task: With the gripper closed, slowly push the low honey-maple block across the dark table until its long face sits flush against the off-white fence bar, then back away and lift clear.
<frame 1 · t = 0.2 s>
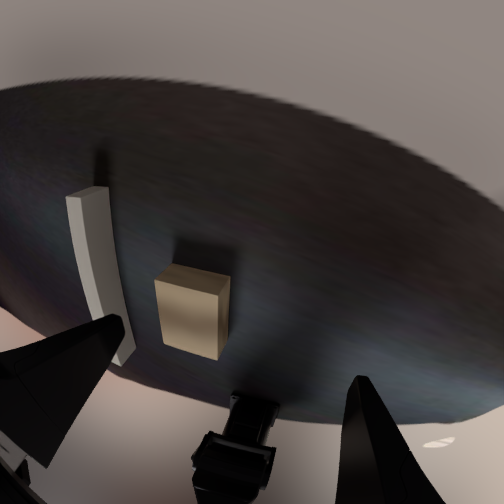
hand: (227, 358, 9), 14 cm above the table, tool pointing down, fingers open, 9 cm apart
fence bar: (113, 278, 29), on the table
maple block: (201, 302, 27), on the table
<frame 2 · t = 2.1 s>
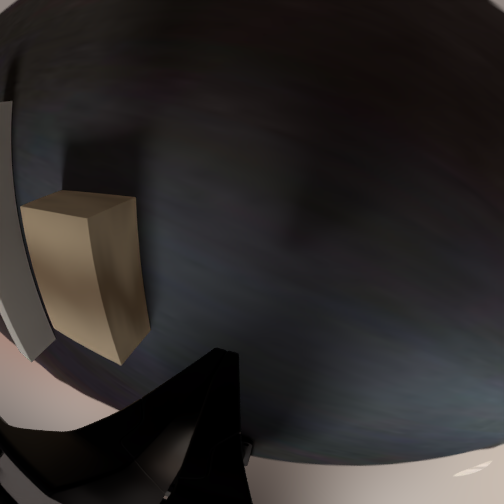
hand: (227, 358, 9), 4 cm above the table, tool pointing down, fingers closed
fence bar: (16, 234, 16), on the table
maple block: (104, 259, 14), on the table
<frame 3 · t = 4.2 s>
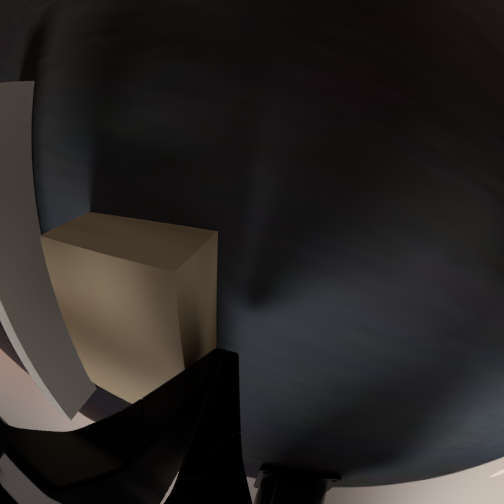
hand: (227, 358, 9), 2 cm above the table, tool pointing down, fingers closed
fence bar: (40, 267, 13), on the table
maple block: (159, 300, 12), on the table
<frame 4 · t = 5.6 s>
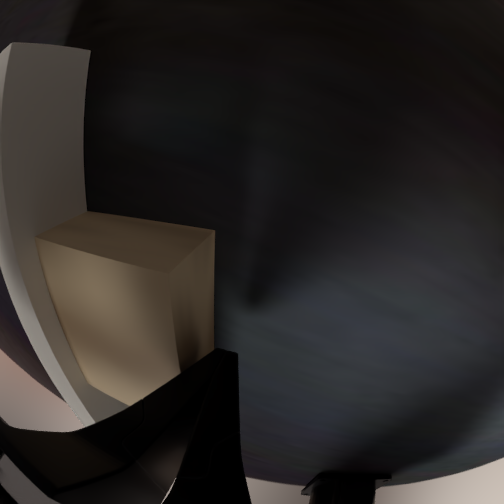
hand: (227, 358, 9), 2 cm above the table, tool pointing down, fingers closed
fence bar: (84, 284, 12), on the table
maple block: (155, 301, 11), on the table, touching fence bar
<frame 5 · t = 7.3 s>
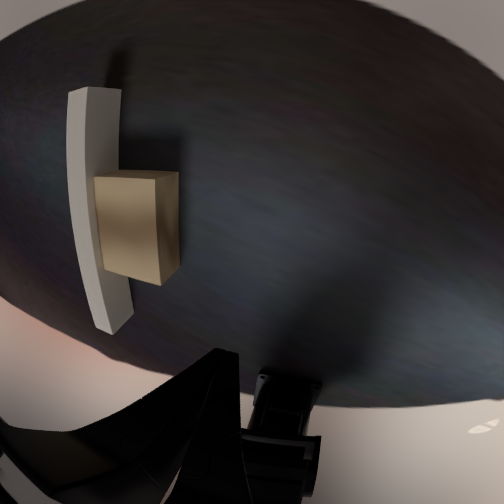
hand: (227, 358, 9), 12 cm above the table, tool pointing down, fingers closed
fence bar: (111, 212, 22), on the table
maple block: (149, 216, 22), on the table
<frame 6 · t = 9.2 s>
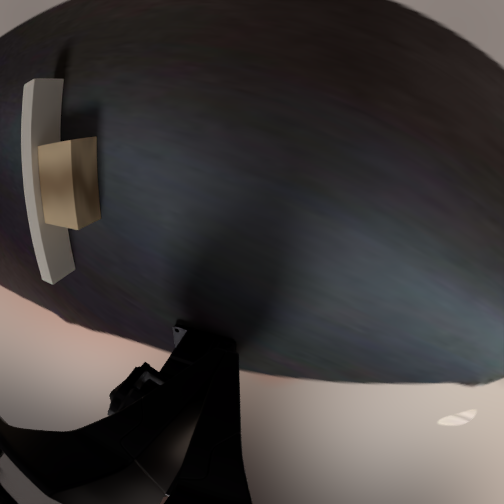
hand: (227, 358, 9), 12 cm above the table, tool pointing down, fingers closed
fence bar: (56, 177, 23), on the table
maple block: (80, 177, 22), on the table
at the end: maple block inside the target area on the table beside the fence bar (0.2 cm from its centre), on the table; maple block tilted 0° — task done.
